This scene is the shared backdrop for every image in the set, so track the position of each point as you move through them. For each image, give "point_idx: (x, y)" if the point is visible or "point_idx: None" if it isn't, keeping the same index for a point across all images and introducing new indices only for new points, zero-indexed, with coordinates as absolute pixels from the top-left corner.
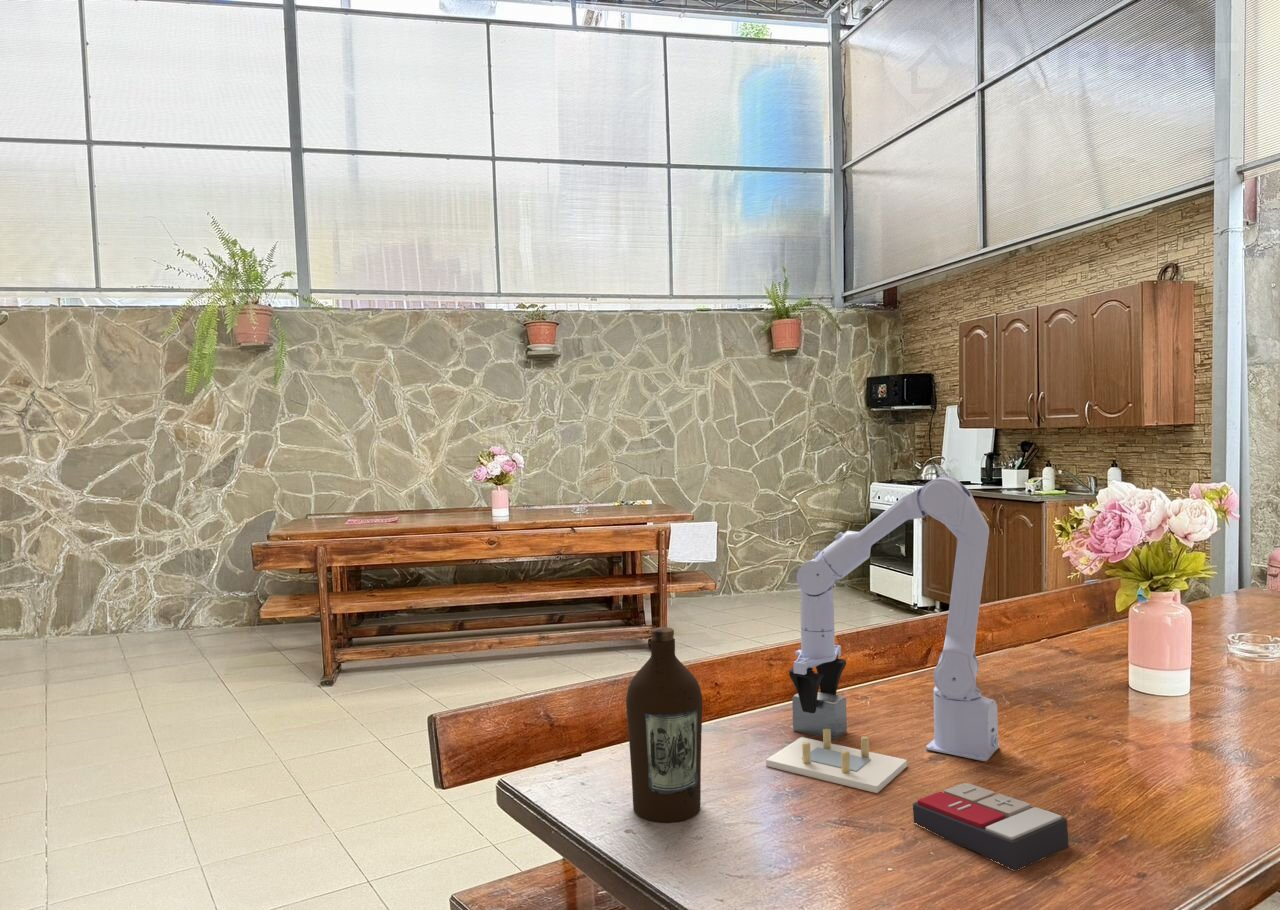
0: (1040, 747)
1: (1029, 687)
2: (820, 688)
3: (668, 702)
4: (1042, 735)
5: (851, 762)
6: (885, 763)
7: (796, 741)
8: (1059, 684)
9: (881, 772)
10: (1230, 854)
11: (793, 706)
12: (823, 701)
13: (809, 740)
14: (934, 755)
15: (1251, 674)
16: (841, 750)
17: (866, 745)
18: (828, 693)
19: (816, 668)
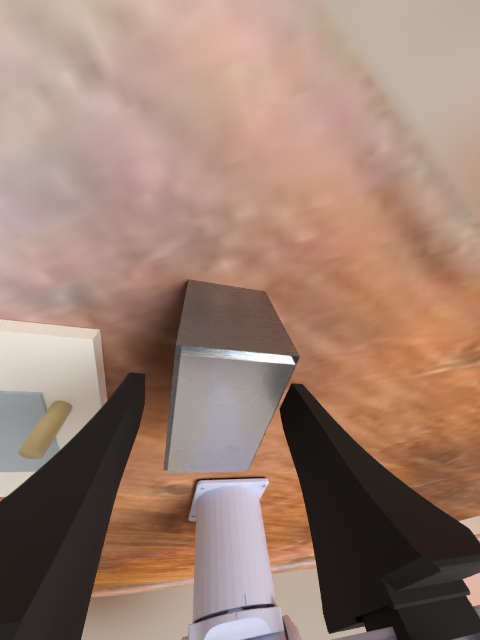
0: (263, 524)
1: (473, 486)
2: (311, 411)
3: None
4: (302, 519)
5: (14, 458)
6: None
7: (45, 339)
8: (477, 497)
9: None
10: (98, 592)
11: (181, 322)
12: (171, 447)
13: (82, 364)
14: (184, 486)
15: None
16: (74, 427)
17: None
18: (292, 421)
19: (373, 501)
